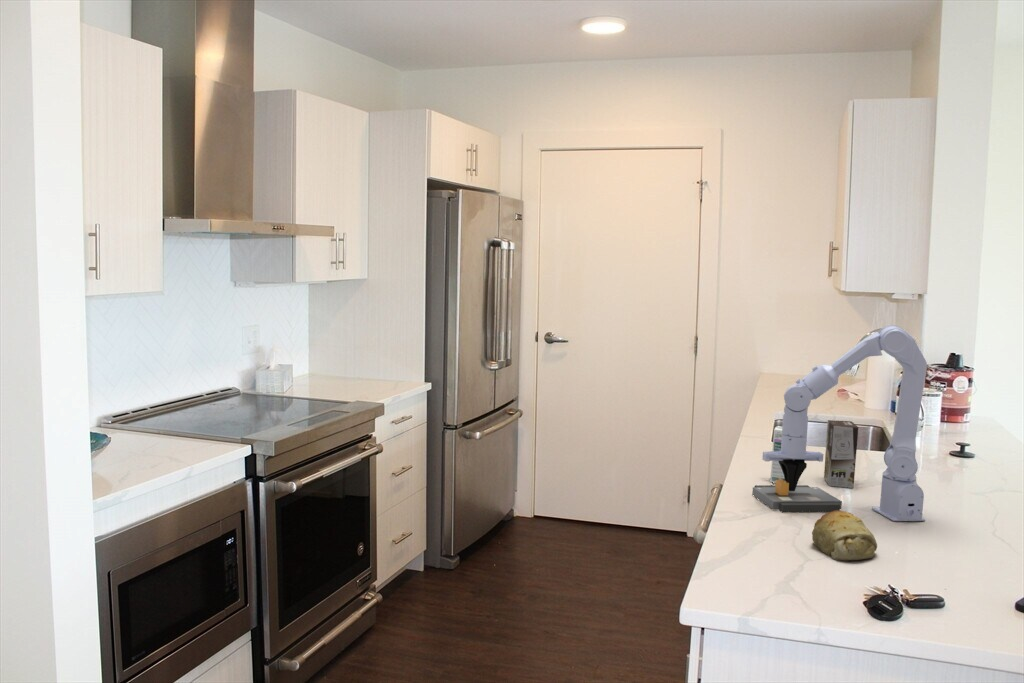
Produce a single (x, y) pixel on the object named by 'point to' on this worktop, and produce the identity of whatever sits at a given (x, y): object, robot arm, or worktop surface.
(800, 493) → the panel
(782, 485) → the knob
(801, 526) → the worktop surface
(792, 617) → the worktop surface
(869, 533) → the pastry
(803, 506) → the dark grey flat bars
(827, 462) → the coffee box
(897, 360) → the robot arm
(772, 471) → the syrup box
